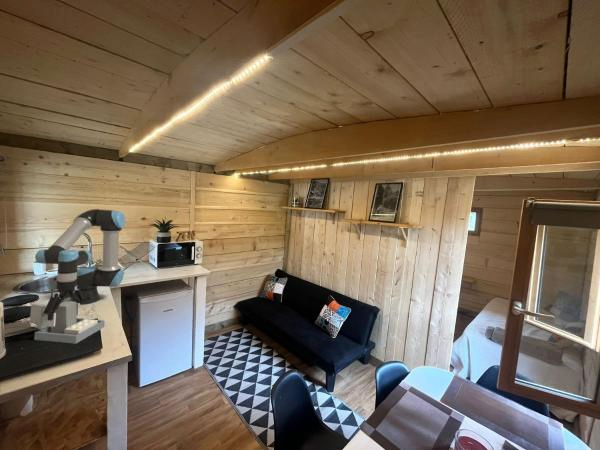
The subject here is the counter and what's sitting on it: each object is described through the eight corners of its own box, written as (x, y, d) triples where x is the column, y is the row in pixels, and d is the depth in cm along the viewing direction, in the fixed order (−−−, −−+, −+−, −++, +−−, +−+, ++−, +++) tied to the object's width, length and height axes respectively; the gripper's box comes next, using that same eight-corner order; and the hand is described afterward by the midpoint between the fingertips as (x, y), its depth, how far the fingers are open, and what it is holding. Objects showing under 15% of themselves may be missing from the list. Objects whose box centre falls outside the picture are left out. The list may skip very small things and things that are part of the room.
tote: (68, 325, 139) (68, 317, 139) (104, 328, 139) (104, 320, 139) (34, 341, 121) (34, 332, 121) (75, 345, 121) (76, 336, 121)
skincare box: (77, 330, 134) (78, 301, 133) (65, 336, 126) (67, 306, 126) (60, 328, 133) (62, 299, 133) (47, 335, 126) (49, 304, 125)
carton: (84, 328, 136) (85, 317, 136) (97, 329, 136) (97, 318, 136) (63, 338, 124) (64, 327, 124) (78, 340, 124) (78, 328, 124)
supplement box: (39, 329, 132) (41, 306, 131) (29, 327, 133) (30, 304, 133) (55, 324, 139) (57, 301, 138) (45, 321, 140) (47, 299, 140)
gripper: (80, 273, 141) (78, 310, 142) (34, 286, 117) (31, 330, 117) (93, 275, 142) (91, 311, 142) (50, 288, 117) (47, 332, 118)
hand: (64, 320), depth 130 cm, fingers open, 13 cm apart
